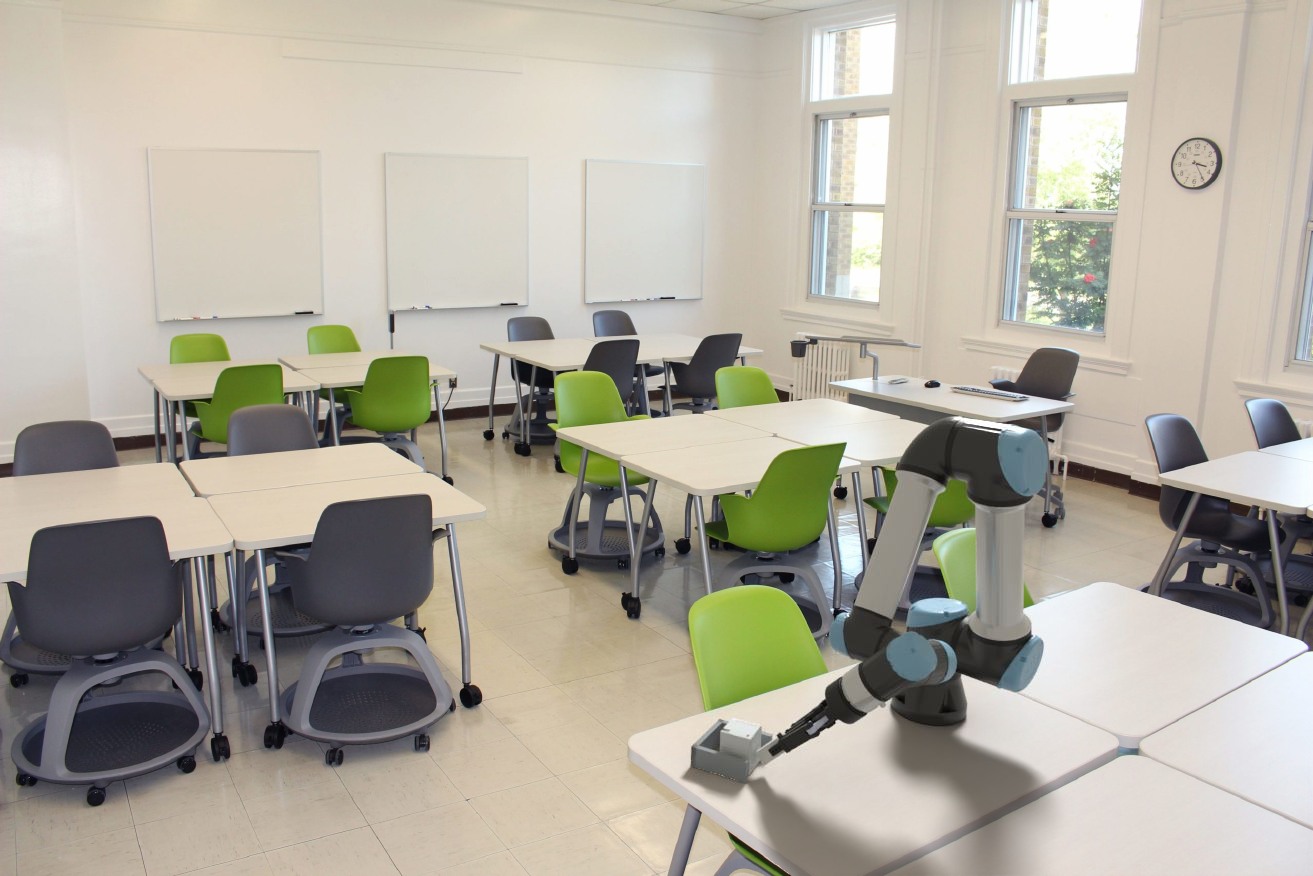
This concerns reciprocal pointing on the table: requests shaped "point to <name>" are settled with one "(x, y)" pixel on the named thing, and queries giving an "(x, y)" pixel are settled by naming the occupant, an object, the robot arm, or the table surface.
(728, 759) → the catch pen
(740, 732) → the skincare box
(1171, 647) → the table surface
